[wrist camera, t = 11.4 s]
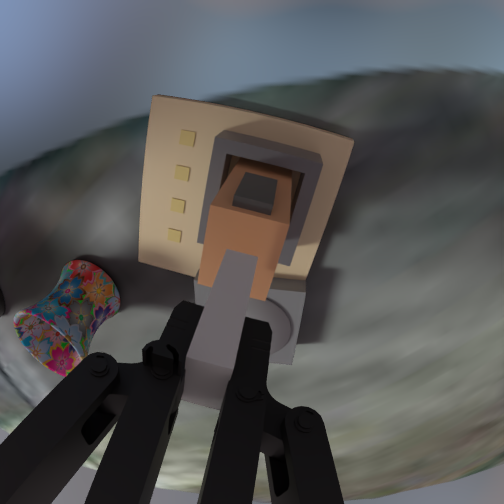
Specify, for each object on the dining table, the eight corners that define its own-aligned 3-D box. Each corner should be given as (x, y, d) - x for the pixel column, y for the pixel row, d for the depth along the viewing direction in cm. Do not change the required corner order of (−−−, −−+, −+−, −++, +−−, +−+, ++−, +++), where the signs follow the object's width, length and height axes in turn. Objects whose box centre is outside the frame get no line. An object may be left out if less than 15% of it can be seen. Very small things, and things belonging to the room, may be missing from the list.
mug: (113, 252, 32) (60, 317, 23) (135, 318, 37) (99, 385, 28) (39, 252, 34) (-13, 304, 25) (64, 310, 39) (24, 364, 30)
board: (143, 255, 32) (125, 278, 28) (158, 94, 23) (135, 99, 20) (296, 295, 32) (295, 324, 28) (351, 138, 23) (362, 150, 20)
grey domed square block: (206, 334, 36) (198, 357, 33) (201, 262, 31) (191, 284, 28) (292, 344, 36) (291, 369, 33) (305, 273, 30) (306, 296, 27)
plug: (229, 212, 27) (197, 283, 18) (243, 148, 24) (212, 193, 15) (276, 224, 27) (265, 301, 18) (293, 161, 24) (292, 214, 15)
